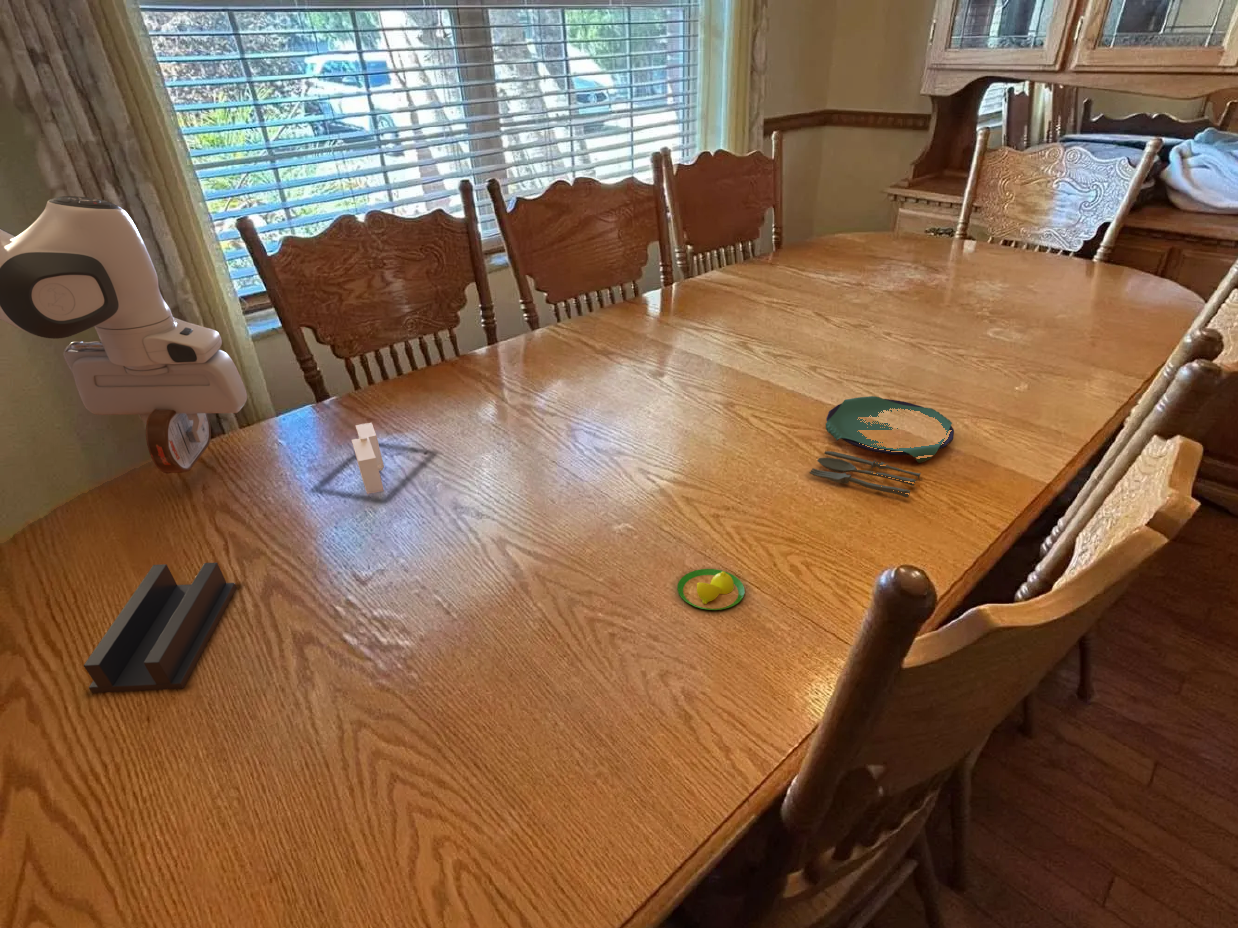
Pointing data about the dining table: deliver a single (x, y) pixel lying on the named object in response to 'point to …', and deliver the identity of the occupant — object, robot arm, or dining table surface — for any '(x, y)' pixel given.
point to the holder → (160, 632)
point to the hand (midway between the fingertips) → (183, 441)
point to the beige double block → (368, 457)
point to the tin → (174, 440)
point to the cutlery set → (846, 427)
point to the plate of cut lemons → (712, 586)
